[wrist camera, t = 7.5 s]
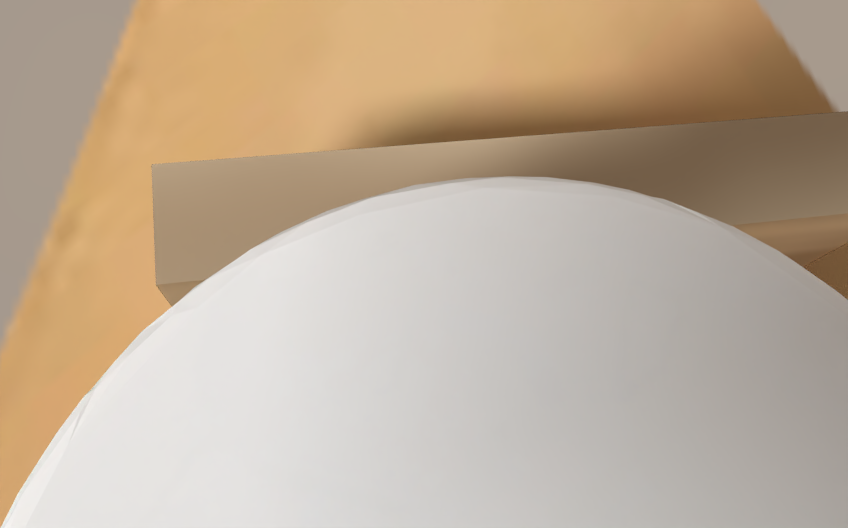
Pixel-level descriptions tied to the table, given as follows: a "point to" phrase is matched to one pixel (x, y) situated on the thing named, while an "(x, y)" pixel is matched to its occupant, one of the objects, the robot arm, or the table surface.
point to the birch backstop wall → (526, 157)
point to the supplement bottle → (473, 377)
